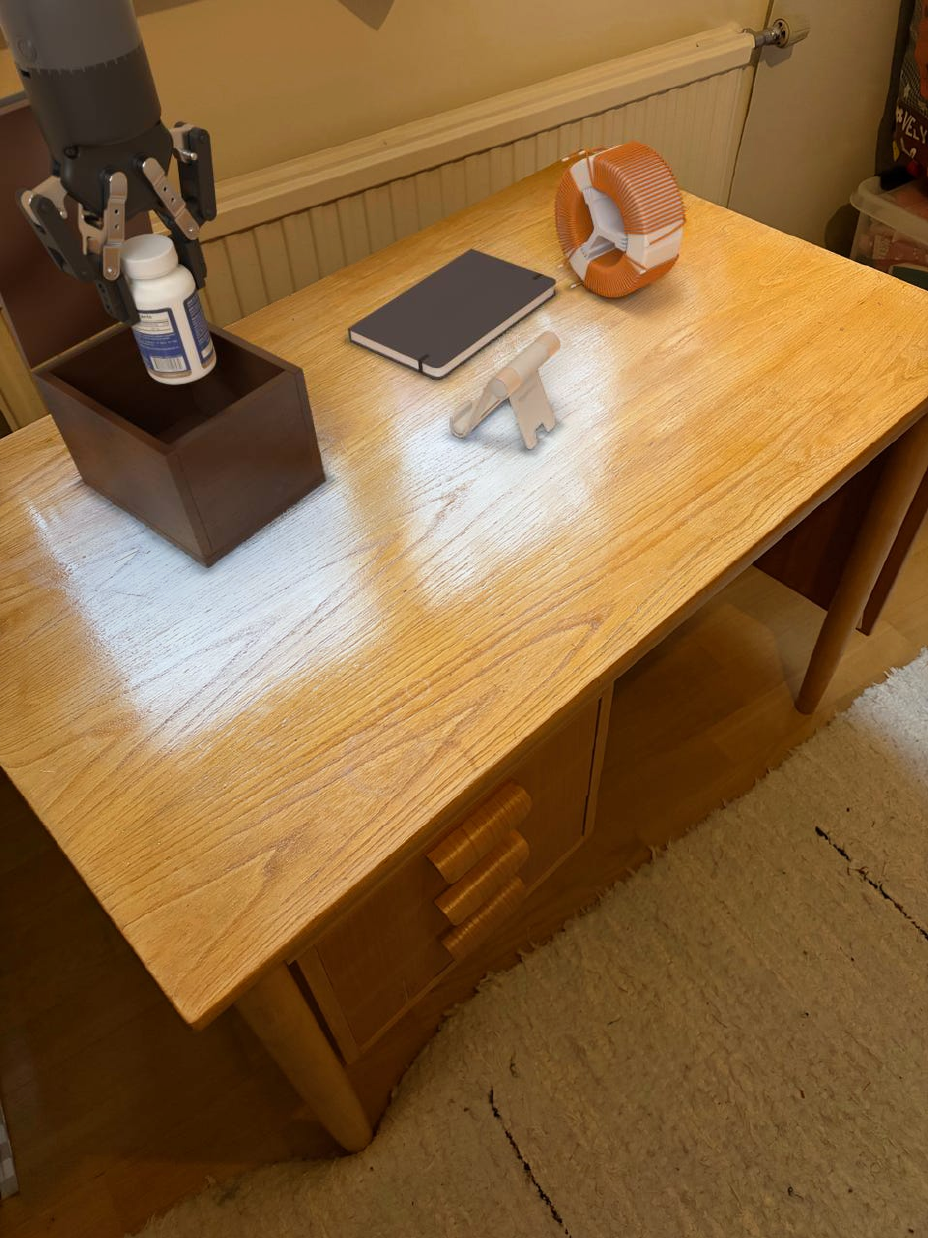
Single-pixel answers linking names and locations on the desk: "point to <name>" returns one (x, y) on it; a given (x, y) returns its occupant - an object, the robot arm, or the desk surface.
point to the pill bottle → (166, 311)
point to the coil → (619, 218)
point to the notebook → (453, 313)
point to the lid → (41, 250)
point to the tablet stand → (514, 393)
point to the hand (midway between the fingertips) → (161, 302)
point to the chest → (187, 438)
